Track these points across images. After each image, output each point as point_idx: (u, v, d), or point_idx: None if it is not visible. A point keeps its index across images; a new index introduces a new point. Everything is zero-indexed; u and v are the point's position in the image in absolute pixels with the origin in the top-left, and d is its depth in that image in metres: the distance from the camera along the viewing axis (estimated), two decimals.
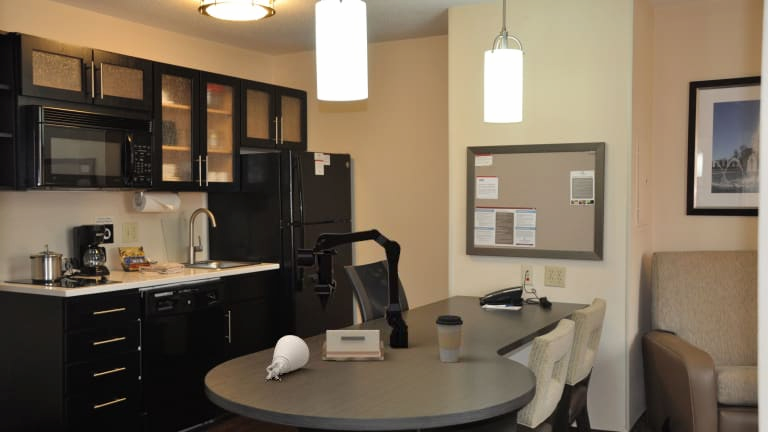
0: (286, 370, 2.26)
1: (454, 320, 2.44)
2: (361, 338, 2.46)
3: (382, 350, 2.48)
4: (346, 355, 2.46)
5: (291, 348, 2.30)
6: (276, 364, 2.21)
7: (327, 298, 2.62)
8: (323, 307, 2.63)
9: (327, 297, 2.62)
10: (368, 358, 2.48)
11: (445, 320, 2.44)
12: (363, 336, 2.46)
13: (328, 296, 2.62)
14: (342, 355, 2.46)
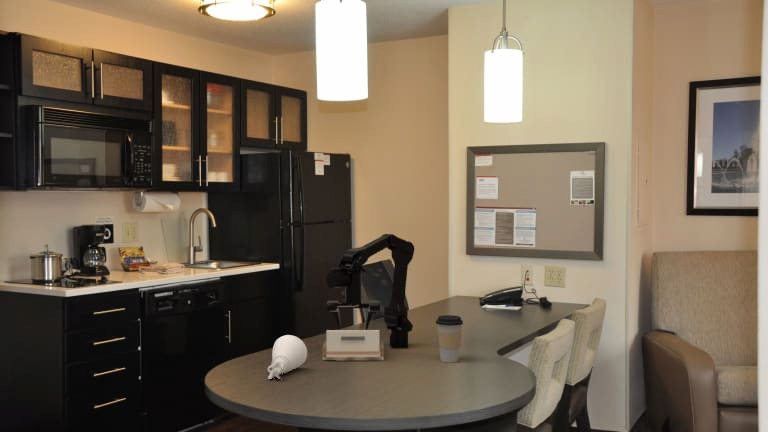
0: (286, 370, 2.27)
1: (454, 320, 2.44)
2: (361, 338, 2.46)
3: (382, 350, 2.48)
4: (346, 355, 2.46)
5: (290, 348, 2.30)
6: (278, 364, 2.21)
7: None
8: None
9: None
10: (368, 358, 2.48)
11: (445, 320, 2.44)
12: (363, 336, 2.46)
13: None
14: (342, 355, 2.46)
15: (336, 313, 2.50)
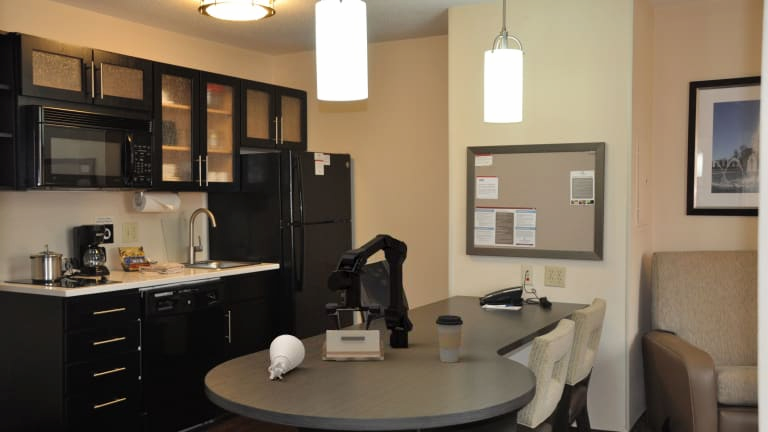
0: (286, 369, 2.27)
1: (454, 320, 2.44)
2: (361, 338, 2.45)
3: (382, 350, 2.48)
4: (346, 355, 2.46)
5: (289, 348, 2.30)
6: (279, 364, 2.21)
7: None
8: None
9: None
10: (368, 358, 2.48)
11: (445, 320, 2.44)
12: (363, 336, 2.46)
13: None
14: (342, 355, 2.46)
15: (335, 316, 2.45)
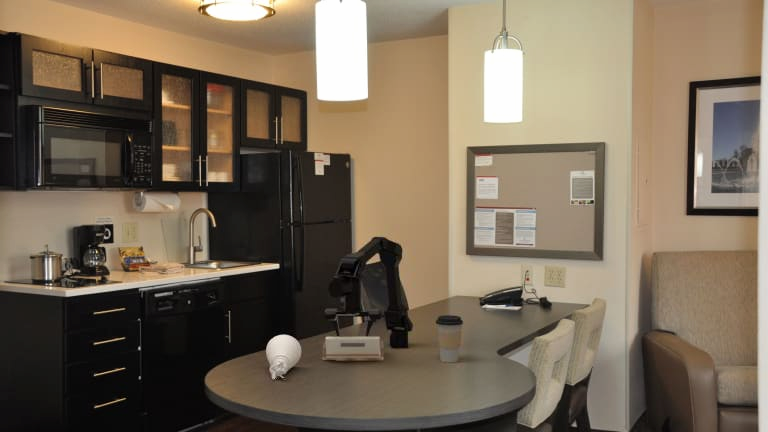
0: (286, 369, 2.27)
1: (454, 320, 2.44)
2: (361, 345, 2.42)
3: (382, 350, 2.48)
4: (346, 356, 2.46)
5: (288, 347, 2.31)
6: (281, 363, 2.21)
7: None
8: None
9: None
10: (368, 358, 2.48)
11: (445, 320, 2.44)
12: (363, 343, 2.42)
13: None
14: (342, 356, 2.46)
15: (335, 322, 2.40)
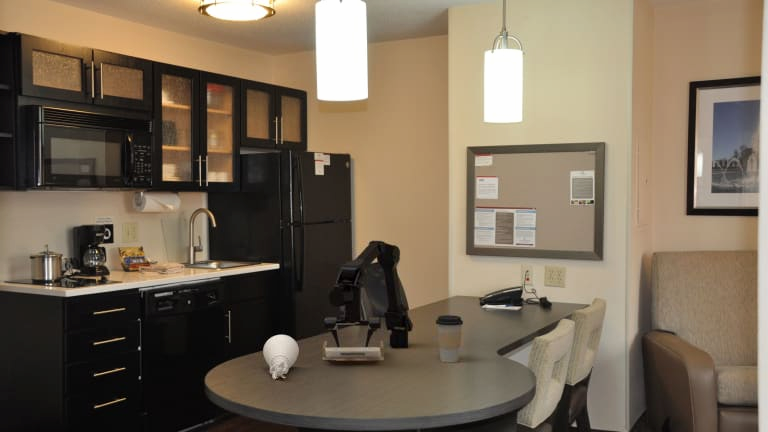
0: None
1: (454, 320, 2.44)
2: (361, 354, 2.40)
3: (382, 350, 2.48)
4: (346, 358, 2.46)
5: (287, 347, 2.31)
6: (282, 363, 2.22)
7: None
8: None
9: None
10: (368, 358, 2.48)
11: (445, 320, 2.44)
12: (363, 353, 2.40)
13: None
14: (342, 358, 2.46)
15: (334, 331, 2.37)
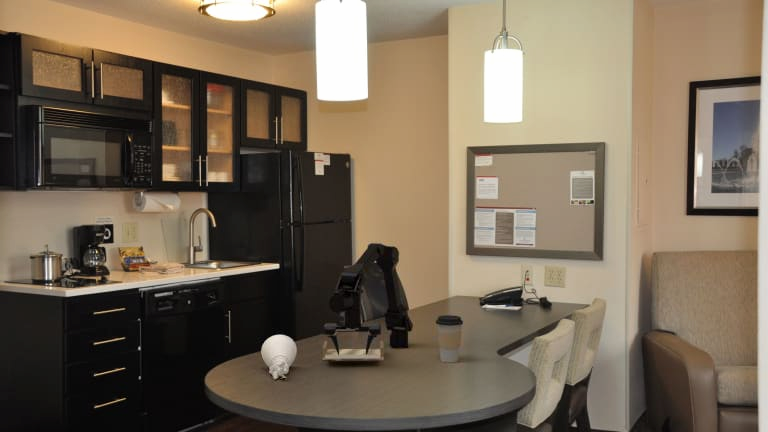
0: None
1: (454, 320, 2.44)
2: None
3: (382, 350, 2.48)
4: None
5: (286, 347, 2.31)
6: (283, 363, 2.22)
7: None
8: None
9: None
10: None
11: (445, 320, 2.44)
12: (363, 359, 2.40)
13: None
14: None
15: (334, 337, 2.36)
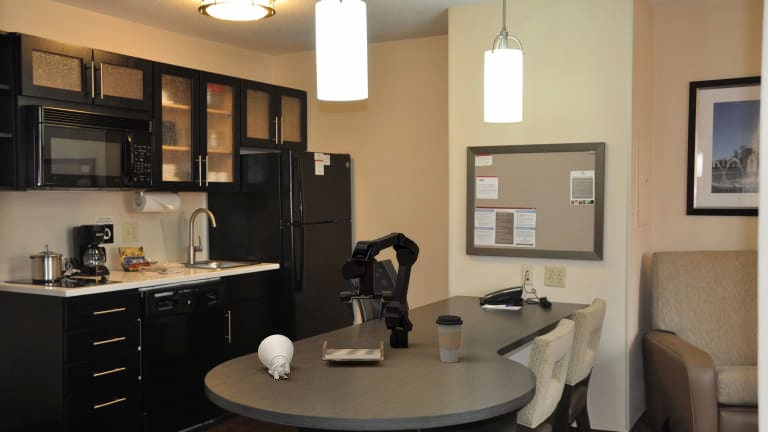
0: None
1: (454, 320, 2.44)
2: None
3: (382, 350, 2.48)
4: None
5: (284, 347, 2.32)
6: (284, 363, 2.22)
7: None
8: (352, 316, 2.54)
9: None
10: None
11: (445, 320, 2.44)
12: (363, 359, 2.40)
13: None
14: None
15: (350, 304, 2.51)
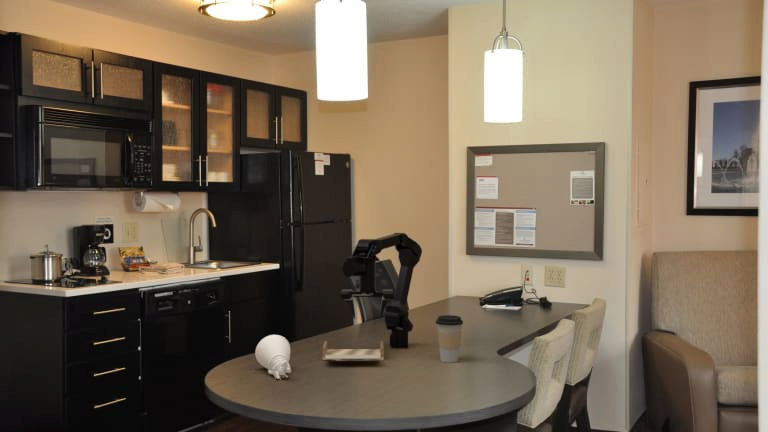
0: None
1: (454, 320, 2.44)
2: None
3: (382, 350, 2.48)
4: None
5: (283, 347, 2.32)
6: (286, 363, 2.23)
7: None
8: None
9: None
10: None
11: (445, 320, 2.44)
12: (363, 359, 2.40)
13: None
14: None
15: (351, 301, 2.52)
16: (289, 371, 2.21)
